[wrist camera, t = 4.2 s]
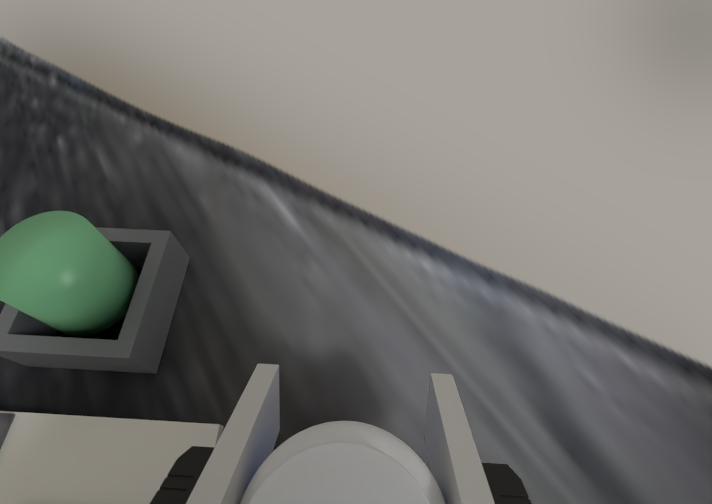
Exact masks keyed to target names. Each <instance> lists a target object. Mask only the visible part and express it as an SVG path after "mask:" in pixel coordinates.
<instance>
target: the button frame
mask: <svg viewBox="0 0 712 504" xmlns="http://www.w3.org/2000/svg"><path fill="white" fill-rule="evenodd" d="M95 228H96V229H97V230H98V231H99V232H100V233H101V234H102V235H103V236H104V237H105V238H106V239H107V240H108V241H109V242H110V243H111V244H112V245H113V246H114V247H115V248H116V249H117V250H118V251H119V252H120V253H121V254H122V255H123V256H124V257H125V258H126V259H127V260H128V261H129V262H131V263H132V265H133V266H134V267H143V269H142V271H141V274H140V277H139V280H138V283H137V286H136V289H135V292H134V294H133V297H132V300H131V303H130V306H129V309H128V312H127V314H126V317H125V320H124V323H123V326H122V329H121V332H120V335H119V337H118V340H106V339H88V338H69V337H55V336H56V333H57V331H58V330H56V329H54V328H52V327H50V326H49V325H47V324H45V323H43V322H41V321H39V320H37V319H35V318H33V317H31V316H29V315H28V314H26V313H24V312H22V311H20V310H18V309H16V308H14V307H12V306H10V305H8V304H5V306H4V308H3V310H2V312H1V314H0V357H3V358H5V359H8V360H11V361H14V362H16V363H19V364H22V365H25V366H29V367H47V368H64V369H81V370H99V371H116V372H133V373H151V374H157V370H158V367H159V363H160V360H161V356H162V353H163V350H164V346H165V343H166V339H167V336H168V332H169V329H170V325H171V322H172V318H173V315H174V312H175V308H176V305H177V301H178V298H179V294H180V291H181V287H182V284H183V280H184V277H185V274H186V270H187V267H188V263H189V260H190V257H189V255H188V254H187V253H186V251H185V250H184V248H183V247H182V246H181V244H180V243H179V242H178V240H177V239H176V237H175V236H174V235H173V233H172V232H171V231H164V230H143V229H122V228H100V227H95Z"/></svg>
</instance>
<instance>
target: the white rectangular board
mask: <svg viewBox="0 0 712 504" xmlns="http://www.w3.org/2000/svg"><path fill="white" fill-rule="evenodd" d="M223 427H224V426H222V425H220V424H206V423H190V422H174V421H157V420H141V419H125V418H108V417H92V416H76V415H59V414H43V413H27V412H10V411H0V504H150V502H151V501H152V499H153V497H154V496H155V494H156V492H157V491H159V489H160V486H161V484H162V483H163V481H164V479H165V478H167V476H168V473H169V471H170V470H171V468H172V466H173V465H174V463H175V461H176V460H177V459H178V458H179V457H180V456H181V455H182V454H183V453H185V452H186V451H187V450H188V449H189V448H191V447H192V446H200V447H215V446H216V444H217V442H218V440H219V438H220V436H221V434H222V432H223Z"/></svg>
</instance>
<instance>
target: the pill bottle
mask: <svg viewBox="0 0 712 504" xmlns="http://www.w3.org/2000/svg"><path fill="white" fill-rule="evenodd" d="M240 504H446V503H445V501H444V498H443V495H442V493H441V490H440V488H439V486H438V484H437V482H436V480H435V478H434V477H433V475H432V473H431V472H430V470H429V469H428V467H427V466H426V464H425V463H424V462H423V461H422V460H421V459H420V457H419V456H418V455H417V454H416V453H415V452H414V451H413V450H412V449H411V448H410V447H409V446H408V445H407V444H405V443H404V442H403V441H402V440H400V439H399V438H397V437H396V436H394V435H393V434H391V433H389V432H388V431H386V430H383V429H381V428H379V427H376V426H373V425H370V424H366V423H362V422H357V421H333V422H326V423H322V424H318V425H315V426H312V427H309V428H307V429H305V430H303V431H300V432H298V433H297V434H295V435H293V436H292V437H290V438H289V439H287V440H286V441H285V442H283V443H282V444H281V445H280V446H279V447H277V448H276V449H275V450H274V451H273V452H272V453H271V454H270V455H269V456H268V457H267V459H266V460H265V461H264V462H263V463H262V465H261V466H260V467H259V469H258V470H257V471H256V473H255V475H254V476H253V478H252V480H251V481H250V483H249V485H248V487H247V489H246V491H245V493H244V495H243V498H242V500H241V503H240Z"/></svg>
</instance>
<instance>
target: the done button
mask: <svg viewBox="0 0 712 504" xmlns="http://www.w3.org/2000/svg"><path fill="white" fill-rule="evenodd" d="M138 280H139V276H138V273H137V270H136V269H135V267H134V266H133V265H132V263H131V262H129V261H128V260H127V259H126V258H125V257H124V256H123V255H122V254H121V253H120V252H119V251H118V250H117V249H116V248H115V247H114V246H113V245H112V244H111V243H110V242H109V241H108V240H107V239H106V238H105V237H104V236H103V235H102V234H101V233H100V232H99V231H98V230H97V229H96V228H95V227H94V226H93V225H92V224H91V223H90V222H89V221H88V220H87V219H86V218H84V217H83V216H81V215H79V214H76V213H73V212H69V211H50V212H45V213H41V214H37V215H34V216H32V217H29V218H27V219H25V220H23V221H21V222H19V223H18V224H16V225H15V226H13V227H12V228H10V229H9V230H8V231H7V232H5V233H4V234H3V235H2V236H1V237H0V300H1V301H3V302H5V303H6V304H8V305H10V306H12V307H14V308H16V309H18V310H20V311H22V312H24V313H26V314H28V315H29V316H31V317H33V318H35V319H37V320H39V321H41V322H43V323H45V324H47V325H49V326H50V327H52V328H54V329H56V330H58V331H60V332H62V333H64V334H67V335H71V336H87V335H92V334H96V333H99V332H101V331H104V330H106V329H108V328H109V327H111V326H113V325H114V324H116V323H117V322H118V321H119V320H121V319H122V318H123V317H124V316H125V315H126V314H127V312H128V309H129V306H130V303H131V300H132V297H133V294H134V292H135V289H136V286H137V283H138Z"/></svg>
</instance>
